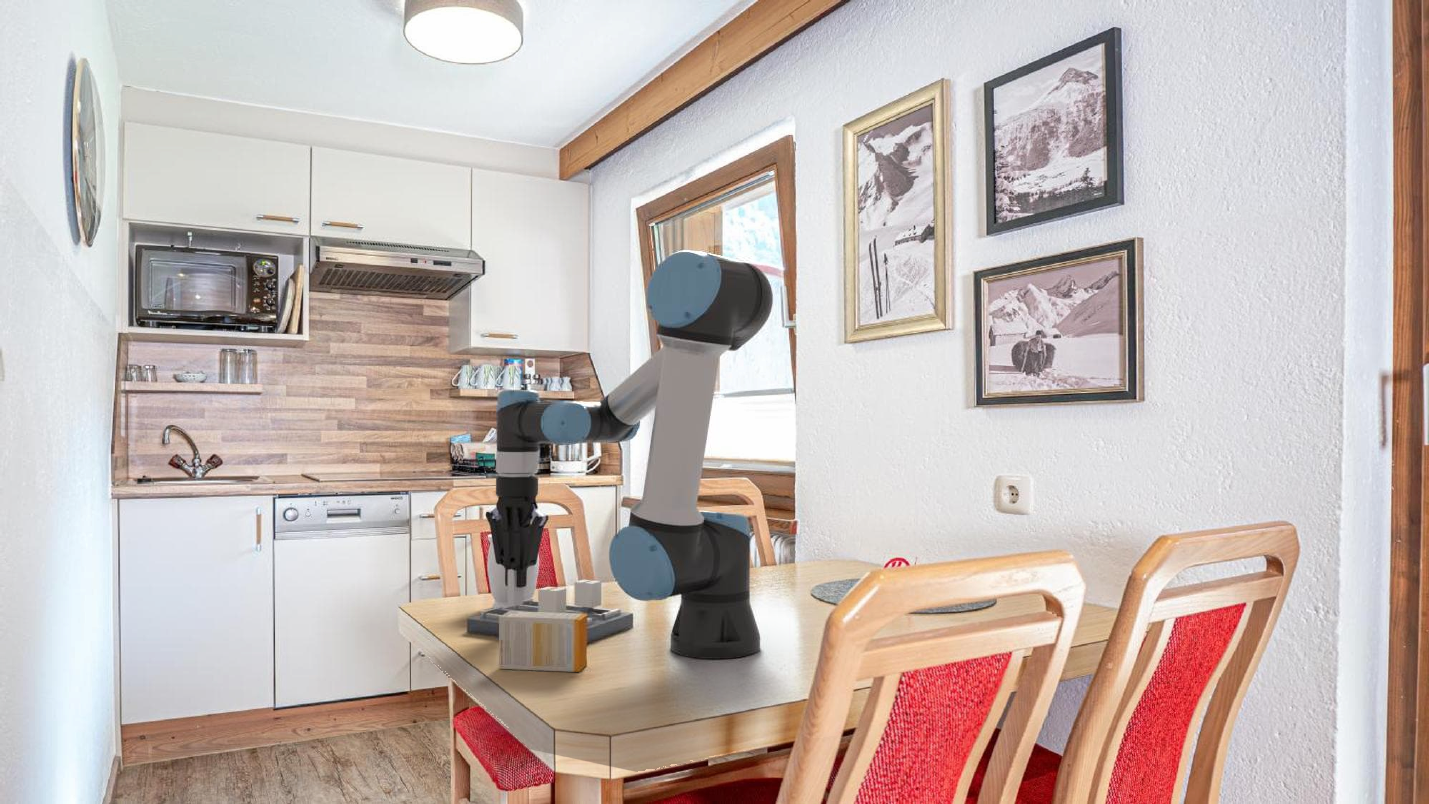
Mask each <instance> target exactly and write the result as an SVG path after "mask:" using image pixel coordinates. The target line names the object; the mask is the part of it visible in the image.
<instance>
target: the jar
mask: <svg viewBox="0 0 1429 804" xmlns="http://www.w3.org/2000/svg"><path fill="white" fill-rule="evenodd" d="M487 540H488V541H489V542H490V545H489V547H488V552H487V563H486V565H487V566H486V567H487V577H488V581H489V587H490V592H491V595H492V598H493V599H494V602H493V604H492V608H491V609H493V608H497V607H502V609H504V608H508V607H512V606H507V592H508V586H506V585H505V568H504V566H502V565H501V564H497V563H496V559H495V553H494V547H493V541H492V535H491V533H490V534H488V535H487ZM539 555H540V554H539V553H538V558H537V562H536V565H534V566H531V567H528V568H527V578H526V579H527V580H526V581H527V584H526V586H525V587H524V600H527V599H533V596H534V595H535V592H536V588H537V582H538V576H539V571H540V570H539V569H540V556H539Z"/></svg>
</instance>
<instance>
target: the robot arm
mask: <svg viewBox="0 0 1429 804" xmlns="http://www.w3.org/2000/svg"><path fill="white" fill-rule="evenodd" d="M773 303H774V294H773V290H772V286H771V284H770V281H769V280H768V278H767V276H766V274H764V273H763V271H761V269H760V268H758V267H757V266H756V265H754V264H752V263H751V262H748V261H744V260H738V259H733V258H730V257H724V256H721V255H717V254H713V253H710V252H704V251H696V250H680V251H677V252H673V253H671V254H669V255H668V256H666V257H665V258H664V260H662V261H661V262H660V263H659V264H658V265H657V266H656V267H655V269H654V270H653V272H652V274H651V276H650V278H649V282H648V285H647V289H646V305H647V308H648V309H649V310H650V312H649V313H650V315H651V317H652V318H653V320H655V322H657V329H656V330H657V331H656V337H657V339H658V340H659V341H660V343H661V344H662V347H661V348H659V350H658V351H657V352H656V353H654V354H653V355H652V356H650V358H649V359H647V360H646V361H645V362H644V363H643V364H641V366H639V367H638V368H637V369H636V370H635V371H634V372H632V374H630V375H629V376H628V377H627V378H626V379H625V380H623V381H622V382H621V383H619V385H617V386H616V387H615V388H614V389H613V390H612V391H610V392H609V394H607V395H606V396H605V397H603V398H602V399H601V400H599V401H572V400H551V401H550V400H547V401H545V400H544V401H543V400H542V401H540V394H539V392H538V391H537V390H527V389H525V390H523V389H516V390H515V389H513V390H512V389H504V390H501V391H500V392H499V393H498V395H497V404H496V405H497V406H496V412H495V414H496V456H495V457H496V459H495V472H496V473H497V474H498V475H497V477H496V478H495V495H496V496H497V502H496V505H495V506H496V507H495V508H493V509H492V510H489V511H486V512H485V518H486V520H487V521H488V524H489V528H490V534H491V535H492V541H493V547H494V553H495V559H496V563H497V564H501V565H502V566H504V568H505V585H506V586H508V592H507V606H517V605H521V604H523V603H524V587H525V586H526V584H527V581H526V580H527V579H526V578H527V568H528V567H531V566H534V565H536V562H537V558H538V553H539V552H540V547H541V543H542V537H543V533H544V528H545V526H546V525H547V522H548V521H549V519H550V518H549V515H548V514H546V513H544V514H543V513H541V511H540V510H538V509H539V508H538V504H537V500H536V498H537V496H538V494H539V478H538V476H537V475H536V474H537V473H538V472H539V444H548V445H550V444H552V445H558V446H571V445H578V444H588V443H589V444H593V443H594V444H596V443H597V444H598V443H599V444H600V443H601V444H602V443H603V444H606V443H607V444H619V443H621V442H627V441H630V440H632V439H634V438H635V437H636V435H637V433H638V431H639V429H640V427H641V420H643V419H644V418H645V417H646V416H648V415H649V414H650V413H652V411H654V418H653V425H652V430H651V431H652V432H651V437H650V445H649V451H648V458H647V464H646V471H645V479H644V483H643V484H644V485H643V491H642V498H641V499H640V500H639V501H638V502H636V503H634V504H633V505H632V506H631V507H630V512H629V519H628V525H627V526H624V527H622V528H621V529H620V530H618V531H617V533H616V534H614V536H613V537H612V539H611V541H610V546H609V552H608V558H609V559H608V560H609V566H610V570H611V572H612V576H613V578H615V579H616V582H617V585H618V586H619V588H620V589H621V590H622V591H623V592H624V593H625V594H626V595H627V596H629V597H631V598H632V599H634V600H636V601H641V602H650V601H664V600H666V599H668V598H671V597H675V596H680V603H679V604H680V605H679V607H678V611H677V613H676V617H675V620H674V623H673V627H672V629H671V632H670V645H669V646H670V647H669V648H670V650H671V651H672V652H674V653H676V654H678V655H681V656H685V657H690V658H691V657H692V658H697V659H698V658H699V659H713V660H714V659H732V658H740V657H746V656H750V655H753V654H755V653H757V652H759V651H760V649H761V634H760V630H759V627H758V625H757V622H756V618H755V615H754V612H753V609H752V605H751V601H750V600H751V599H750V598H751V596H750V592H751V591H750V590H751V586H750V585H751V583H750V582H751V579H750V578H751V560H750V559H751V556H750V555H751V539H752V537H751V534H750V521H749V519H748V517H747V516H745V515H744V514H741V513H729V512H720V511H708V510H707V511H706V510H699V508H698V506H697V504H698V497H699V491H700V485H701V479H702V478H701V477H702V472H703V466H704V459H705V454H706V446H707V441H708V440H707V439H708V433H709V428H710V420H711V415H712V414H711V413H712V408H713V403H714V402H713V400H714V396H715V390H716V389H715V387H716V382H717V377H718V368H719V362H720V357H721V356H722V355H723V354H724V353H725V352H726V351H729V352H734V351H735V352H736V351H737V350H739V349H740V348H741V347H743V346H744V345H746V343H748V342H749V341H750V340H751V339H753V338H754V337H755V336H756V335H757V334H758V333H759V332H760V330H761V329H762V328H763V327H764V326H765V324H766V322H767V321H768V319H769V318H770V315H771V313H772V308H773Z"/></svg>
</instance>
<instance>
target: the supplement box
mask: <svg viewBox="0 0 1429 804" xmlns="http://www.w3.org/2000/svg"><path fill="white" fill-rule="evenodd" d="M587 648H588V643H587V614H578V613H547V612H518V611H509V612H507V613H505V614H504V615H501V616H500V617H499V637H498V654H499V655H498V656H499V657H498V661H499V662H498V669H499V670H519V671H520V670H521V671H541V672H543V671H545V672H566V673H567V672H569V673H579V672H580V671H582V670H583V668H585V667H586V666H587V665H588V659H587V657H588V656H587V653H588V652H587V650H588V649H587Z"/></svg>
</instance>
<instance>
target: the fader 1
mask: <svg viewBox="0 0 1429 804" xmlns="http://www.w3.org/2000/svg"><path fill="white" fill-rule="evenodd" d="M537 592H538V593H537V597H538V599H537V601H538V612H547V613H566V605H567V588H564V587H559V586H545V587H541V588H538V590H537Z"/></svg>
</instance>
